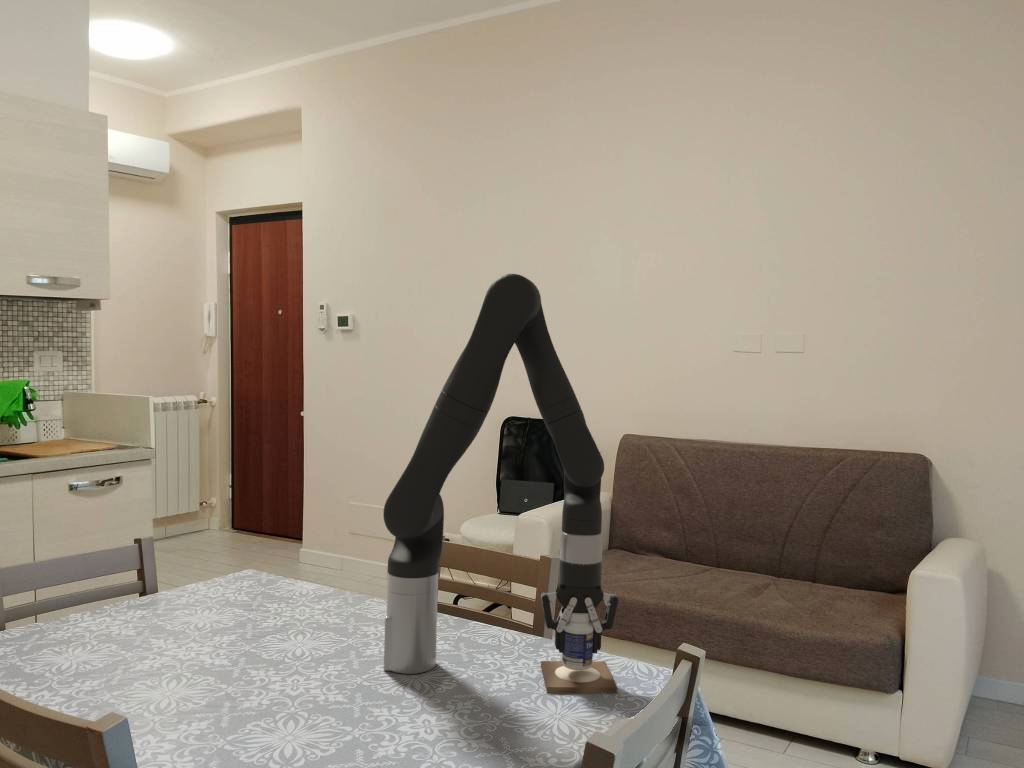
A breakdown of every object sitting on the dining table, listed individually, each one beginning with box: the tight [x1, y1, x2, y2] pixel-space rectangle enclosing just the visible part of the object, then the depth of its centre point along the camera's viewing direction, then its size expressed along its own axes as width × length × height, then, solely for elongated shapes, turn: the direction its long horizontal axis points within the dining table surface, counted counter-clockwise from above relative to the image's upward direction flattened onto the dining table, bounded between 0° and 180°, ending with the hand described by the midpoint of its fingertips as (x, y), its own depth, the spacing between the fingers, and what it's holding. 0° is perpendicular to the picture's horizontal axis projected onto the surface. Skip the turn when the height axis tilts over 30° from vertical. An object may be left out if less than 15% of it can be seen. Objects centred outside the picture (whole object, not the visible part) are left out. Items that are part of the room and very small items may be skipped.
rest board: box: [540, 660, 618, 694], centre depth 142 cm, size 12×12×1 cm
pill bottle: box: [561, 613, 594, 670], centre depth 142 cm, size 5×5×10 cm
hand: (577, 651), depth 142 cm, fingers closed on pill bottle, 5 cm apart
